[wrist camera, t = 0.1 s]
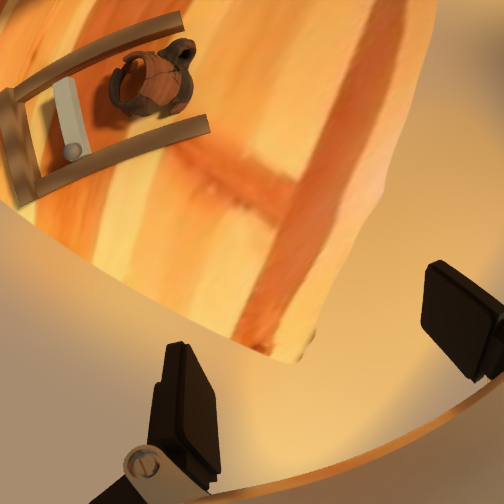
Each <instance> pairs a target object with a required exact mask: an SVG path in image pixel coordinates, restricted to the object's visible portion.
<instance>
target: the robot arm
mask: <svg viewBox="0 0 504 504" xmlns="http://www.w3.org/2000/svg"><path fill="white" fill-rule="evenodd" d="M421 326H422V328H423V330H424V331H425V332H426V333H427V334H428V335H429V336H430V337H431V338H432V339H433V340H434V342H435V343H436V344H437V345H438V346H439V347H440V348H441V349H442V350H443V351H444V353H445V354H446V355H447V356H448V357H449V358H450V359H451V360H452V361H453V363H454V364H455V365H456V366H457V367H458V369H459V370H460V371H461V372H462V373H463V374H464V376H465V377H466V378H468V379H471V380H472V381H473V382H474V383H476V382H477V381H479V380H480V379H482V378H483V377H484V375H486V376H487V385H485V386H484V387H483V388H481V389H480V390H478V391H477V392H476V393H475V394H473V395H471V396H470V397H468V398H467V399H466V400H464V401H463V402H461V403H459V404H458V405H456V406H455V407H453V408H452V409H450V410H449V411H447V412H445V413H444V414H442V415H440V416H439V417H437V418H435V419H434V420H432V421H430V422H428V423H426V424H425V425H423V426H421V427H419V428H417V429H415V430H413V431H411V432H410V433H408V434H406V435H404V436H402V437H400V438H398V439H395V440H393V441H391V442H389V443H387V444H385V445H382V446H380V447H378V448H376V449H373V450H371V451H369V452H366V453H364V454H361V455H359V456H356V457H354V458H351V459H348V460H346V461H343V462H340V463H337V464H335V465H332V466H329V467H326V468H322V469H319V470H316V471H313V472H309V473H306V474H302V475H299V476H295V477H291V478H288V479H284V480H280V481H276V482H271V483H267V484H262V485H258V486H253V487H248V488H242V489H238V490H233V491H227V492H222V493H217V494H213V495H211V494H210V493H209V492H208V491H207V490H208V489H209V483H210V482H217V474H220V473H221V463H220V451H219V440H218V439H219V438H218V425H217V411H216V397H215V393H214V390H213V389H212V387H211V385H210V383H209V381H208V379H207V377H206V376H205V373H204V372H203V370H202V368H201V366H200V364H199V362H198V360H197V358H196V356H195V354H194V352H193V350H192V348H191V346H190V345H189V344H184V342H182V341H180V342H176V343H171V344H168V345H167V347H166V352H165V359H164V366H163V373H162V380H161V382H157V383H156V384H155V387H154V392H153V400H152V407H151V414H150V422H149V430H148V439H147V445H141V446H138V447H136V448H134V449H132V450H131V451H130V452H129V453H128V454H127V456H126V458H125V459H124V463H123V468H124V473H125V475H123V476H122V477H121V478H120V479H119V480H117V481H116V482H115V483H114V484H113V485H111V486H110V487H109V488H108V489H106V490H105V491H104V492H103V493H101V494H100V495H99V496H97V497H96V498H95V499H93V500H92V501H91V502H90V503H89V504H504V305H503V304H501V303H500V302H499V301H498V300H497V299H495V298H494V297H493V296H491V295H490V294H489V293H487V292H486V291H485V290H483V289H482V288H481V287H479V286H478V285H477V284H475V283H474V282H473V281H471V280H470V279H469V278H467V277H466V276H464V275H463V274H461V273H460V272H459V271H457V270H456V269H454V268H453V267H451V266H450V265H448V264H447V263H446V262H444V261H442V260H438V261H435V262H433V263H431V264H429V265H428V267H427V269H426V271H425V282H424V294H423V304H422V313H421Z"/></svg>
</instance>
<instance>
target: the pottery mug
mask: <svg viewBox="0 0 504 504" xmlns="http://www.w3.org/2000/svg"><path fill="white" fill-rule="evenodd" d="M154 53H155V52H153V51H148V52H142V51H135V52H132V53H130V54H128V55H127V56H125V57H124V58H123V61H124V62H126V63H125V64H124V66H123V67H122V69H119V68H116V69H115V70H114V71H113V74H112V76H111V79H110V84H109V96H110V99H111V102H112V104H113V105H114V106H115V107H117V108H120V109H121V110H122V111H123V112H124V113H125V114H126V115H127V116H129V117H130V116H131V114H130V111H131V112H132V113H133V114H135V115H140V116H142V117H146V116H149V115H151V111H150V110H148V104H147V102H148V98H149V99H150V100H152V101H153V102H154V103H156V104H157V105H158V106H165V105H167V104H168V103H169V102H177V103H176V104H175V106H174V107H173V108H172V109H171V110H170V111H169V113H170V114H178V113H180V112H181V111H182V110H183V109H184V108H185V107H186V106H187V104H188V102H189V101H190V99H191V97H192V94H193V87H194V85H193V80H192V77H191V76H190V74H189V72H188V68H189V65H190V63H191V61H192V59H193V58H194V56H195V54H196V45H195V42H194V41H193V40H190V39H187V38H180V39H177V40H175V41H173V42H172V43H171V44H170V45H169V46H168V47H166V48H165V49H163V50H160V51H158V52H157V54H158V55H154ZM137 58H142V59H143V60H144V62H145V64H146V76H145V80H144V83H143V85H142V87H141V89H140V91H139V93H138V94H137V95H136V96H135V97H134V98H133V99H132V100H130V101H128V102H125V103H123V102H122V101H121V100H120V85H121V83H122V80H123V79H124V77H125V75H126V73H130V72H134V71H135V70H136V68H137V66H138V63H139V62H138V61H136V60H135V59H137ZM134 60H135V61H134ZM174 66H175V67H176V68H177V70H178V71H174Z"/></svg>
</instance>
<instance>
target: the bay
mask: <svg viewBox="0 0 504 504" xmlns="http://www.w3.org/2000/svg"><path fill="white" fill-rule="evenodd" d="M182 31H185V30H184V26H183V22H182V18H181V14H180V10H179V11H176V12H172V13H169V14H165V15H162V16H159V17H155V18H152V19H149V20H146V21H143V22H140V23H138V24H135V25H132V26H129V27H127V28H124V29H122V30H119V31H117V32H114V33H112V34H110V35H107V36H105V37H103V38H100V39H98V40H96V41H94V42H92V43H90V44H87V45H85V46H83V47H81V48H79V49H77V50H75V51H74V52H72V53H70V54H68V55H66V56H64V57H62V58H61V59H59V60H57V61H55V62H54V63H52V64H50V65H48V66H47V67H45V68H44V69H42V70H40V71H39V72H37V73H36V74H34V75H32V76H31V77H29V78H28V79H26V80H25V81H23V82H22V83H21V84H19V85H18V86H16V87H15V88H5V89H4V90H3V91H1V92H0V128H1V133H2V138H3V143H4V148H5V152H6V156H7V161H8V165H9V168H10V172H11V176H12V180H13V183H14V186H15V190H16V193H17V196H18V199H19V202H20V205H21V206H23V205H25V204H27V203H29V202H32V201H34V200H36V199H38V198H40V197H42V196H44V195H46V194H48V193H50V192H52V191H54V190H56V189H58V188H60V187H62V186H64V185H66V184H69V183H71V182H73V181H75V180H77V179H80V178H82V177H84V176H86V175H89V174H91V173H93V172H96V171H98V170H101V169H103V168H106V167H108V166H111V165H113V164H116V163H118V162H121V161H123V160H126V159H129V158H131V157H134V156H137V155H140V154H143V153H145V152H148V151H151V150H154V149H157V148H160V147H163V146H166V145H169V144H172V143H176V142H179V141H182V140H186V139H189V138H192V137H196V136H199V135H203V134H206V133H210V132H211V131H210V128H209V124H208V120H207V116H206V114H203V115H199V116H196V117H192V118H189V119H185V120H182V121H179V122H175V123H172V124H169V125H166V126H163V127H160V128H157V129H154V130H151V131H148V132H145V133H142V134H140V135H137V136H134V137H132V138H129V139H126V140H124V141H121V142H119V143H116V144H114V145H111V146H109V147H106V148H104V149H101V150H99V151H97V152H94V153H92V154H90V155H88V156H85V157H83V158H81V159H79V160H77V161H74V162H72V163H70V164H68V165H66V166H64V167H62V168H60V169H58V170H56V171H54V172H52V173H50V174H48V175H46V176H44V177H41V174H40V170H39V167H38V163H37V159H36V156H35V152H34V148H33V144H32V139H31V135H30V130H29V125H28V120H27V115H26V110H25V104H24V103H25V102H26V101H28V100H29V99H31V98H32V97H34V96H35V95H37V94H39V93H40V92H42V91H43V90H45V89H47V88H48V87H50V86H52V85H53V84H54V83H56V82H58V81H60V80H61V79H63V78H65V77H67V76H70V75H72V74H74V73H76V72H78V71H80V70H82V69H84V68H86V67H88V66H90V65H92V64H94V63H96V62H98V61H101V60H103V59H105V58H108V57H110V56H112V55H115V54H117V53H119V52H122V51H124V50H127V49H130V48H132V47H135V46H138V45H140V44H143V43H146V42H149V41H152V40H155V39H158V38H161V37H165V36H168V35H171V34H175V33H178V32H182Z"/></svg>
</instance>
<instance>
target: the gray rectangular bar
mask: <svg viewBox="0 0 504 504" xmlns="http://www.w3.org/2000/svg"><path fill="white" fill-rule="evenodd" d="M52 86H53V92H54V98H55V103H56V108H57V113H58V117H59V122H60V126H61V131H62V135H63V139H64V143H65V147H64V149H63V156H64V158H65V159H66V160H69V161H70V162H71V161H75V160H78V159H80V158H83V157H85V156H87V155H89V154H92V152H91V148H90V145H89V141H88V137H87V133H86V129H85V125H84V121H83V117H82V113H81V108H80V104H79V99H78V94H77V89H76V84H75V79H74V78H71V77H68V76H67V77H65V78H63V79H61V80H60V81H58V82H56V83H54V84H53V85H52Z"/></svg>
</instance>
